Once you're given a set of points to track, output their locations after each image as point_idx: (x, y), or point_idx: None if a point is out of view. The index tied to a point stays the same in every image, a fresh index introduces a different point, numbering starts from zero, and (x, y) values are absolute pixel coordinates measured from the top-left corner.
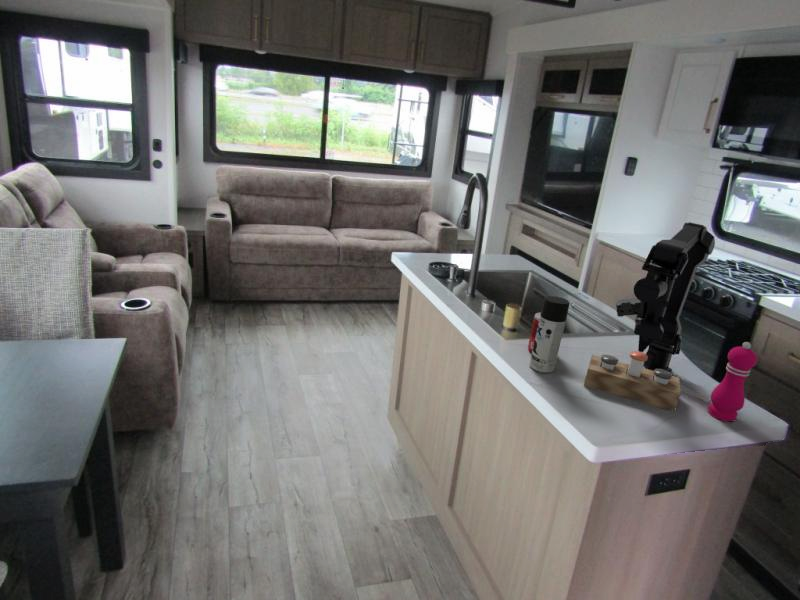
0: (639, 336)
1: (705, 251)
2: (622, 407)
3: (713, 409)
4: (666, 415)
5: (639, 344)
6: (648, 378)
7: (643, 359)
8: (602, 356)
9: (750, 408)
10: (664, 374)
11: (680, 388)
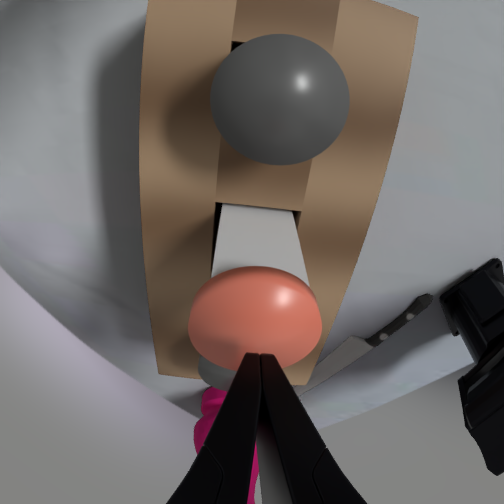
0: (176, 490)
1: None
2: (76, 168)
3: (214, 399)
4: (127, 298)
5: (221, 408)
6: None
7: (199, 346)
8: (286, 42)
9: None
10: (218, 373)
11: (348, 349)
